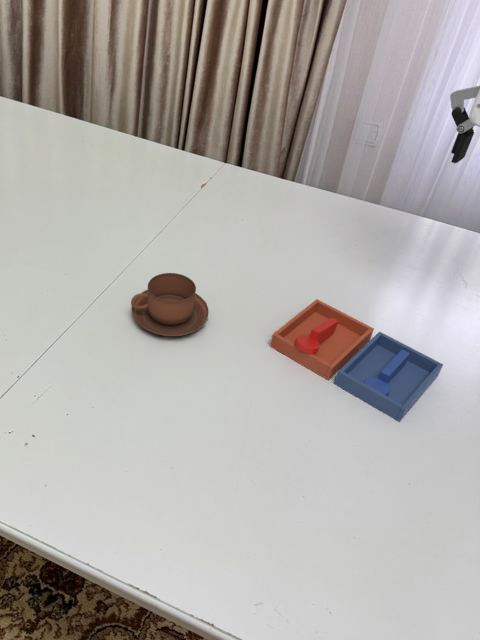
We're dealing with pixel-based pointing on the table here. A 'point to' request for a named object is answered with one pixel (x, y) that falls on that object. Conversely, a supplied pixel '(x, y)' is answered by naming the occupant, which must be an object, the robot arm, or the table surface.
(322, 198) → the table surface
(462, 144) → the robot arm
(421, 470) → the table surface
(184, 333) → the cup and saucer
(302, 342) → the red spoon
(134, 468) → the table surface
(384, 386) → the blue spoon
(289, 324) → the terracotta tray
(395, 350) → the slate tray
